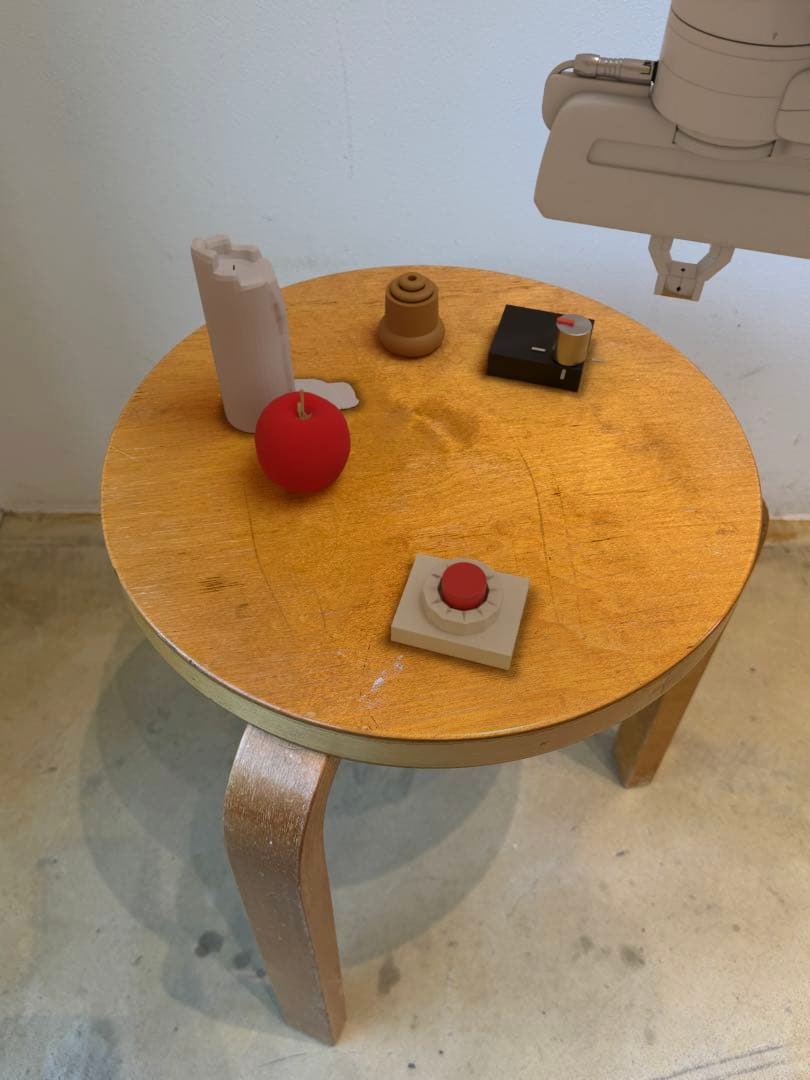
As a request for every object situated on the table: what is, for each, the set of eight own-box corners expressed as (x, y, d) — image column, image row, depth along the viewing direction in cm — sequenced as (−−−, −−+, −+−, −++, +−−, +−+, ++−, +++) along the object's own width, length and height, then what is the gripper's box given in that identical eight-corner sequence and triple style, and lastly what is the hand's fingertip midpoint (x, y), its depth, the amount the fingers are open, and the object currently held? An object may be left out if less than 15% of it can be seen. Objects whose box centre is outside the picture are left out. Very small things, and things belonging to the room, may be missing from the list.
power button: (489, 580, 70) (491, 567, 69) (479, 614, 68) (481, 602, 67) (447, 570, 71) (448, 557, 70) (436, 604, 69) (436, 591, 67)
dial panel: (608, 344, 96) (614, 321, 93) (594, 408, 89) (600, 384, 87) (503, 325, 98) (506, 302, 95) (482, 386, 91) (484, 363, 89)
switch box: (527, 593, 74) (533, 565, 71) (508, 670, 69) (513, 644, 66) (417, 567, 76) (417, 539, 73) (390, 640, 71) (390, 613, 68)
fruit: (371, 480, 82) (368, 402, 75) (293, 523, 79) (281, 446, 71) (318, 428, 87) (310, 349, 79) (241, 467, 83) (225, 388, 76)
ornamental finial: (454, 330, 97) (427, 368, 93) (395, 312, 99) (366, 349, 95) (458, 268, 91) (429, 306, 87) (395, 251, 93) (364, 287, 89)
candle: (364, 415, 88) (355, 241, 73) (230, 439, 86) (192, 264, 70) (349, 371, 93) (338, 198, 77) (221, 393, 90) (184, 219, 75)
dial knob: (587, 348, 90) (595, 314, 87) (582, 369, 88) (589, 335, 85) (554, 342, 91) (560, 308, 88) (548, 362, 89) (554, 328, 86)
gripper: (538, 72, 45) (512, 293, 56) (948, 123, 42) (836, 349, 53) (558, 27, 49) (530, 243, 60) (936, 71, 46) (834, 292, 56)
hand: (676, 293), depth 56 cm, fingers closed
